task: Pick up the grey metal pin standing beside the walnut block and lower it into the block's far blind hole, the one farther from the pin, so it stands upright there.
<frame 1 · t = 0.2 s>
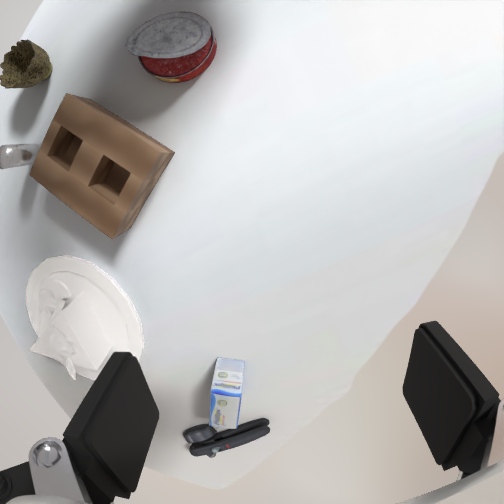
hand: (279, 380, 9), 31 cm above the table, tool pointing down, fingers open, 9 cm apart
canned food: (180, 50, 32), on the table
dish: (81, 321, 45), on the table
can opener: (228, 427, 52), on the table
medicine box: (229, 374, 47), on the table
cup: (46, 71, 32), on the table
hole block: (107, 160, 37), on the table
pin: (41, 153, 36), on the table
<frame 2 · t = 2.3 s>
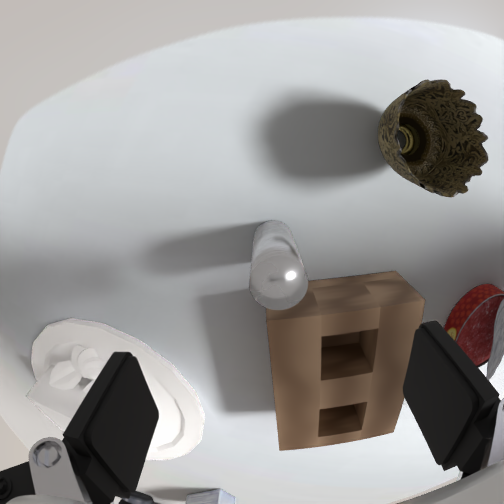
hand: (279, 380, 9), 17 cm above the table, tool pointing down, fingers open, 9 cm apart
canned food: (473, 320, 27), on the table
dish: (112, 398, 33), on the table
can opener: (162, 502, 43), on the table
medicine box: (211, 494, 40), on the table
cup: (396, 140, 22), on the table
hole block: (332, 351, 28), on the table
pin: (273, 239, 25), on the table
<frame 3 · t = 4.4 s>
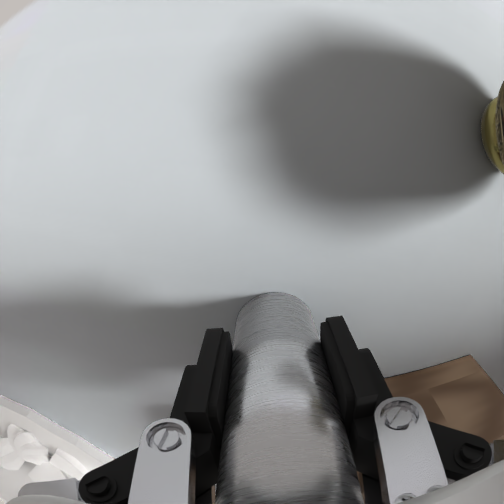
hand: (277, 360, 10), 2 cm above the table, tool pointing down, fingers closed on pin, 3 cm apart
dish: (69, 476, 20), on the table
cup: (497, 136, 9), on the table
hole block: (359, 460, 16), on the table
pin: (274, 327, 12), on the table, touching gripper
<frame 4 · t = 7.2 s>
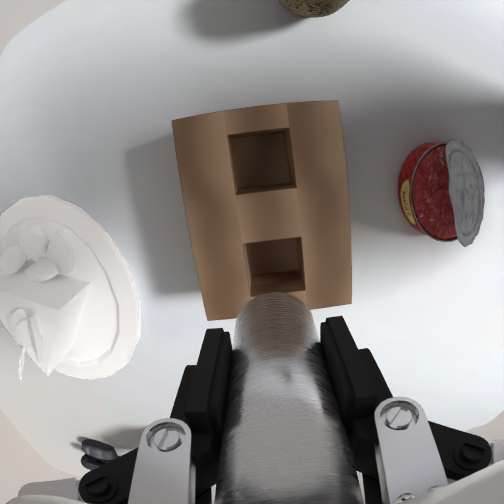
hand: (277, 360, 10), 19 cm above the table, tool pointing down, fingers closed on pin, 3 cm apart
canned food: (435, 188, 27), on the table
dish: (55, 293, 32), on the table
can opener: (129, 457, 42), on the table
cup: (303, 6, 21), on the table
hole block: (266, 203, 27), on the table
pin: (274, 326, 12), point 17 cm above the table, touching gripper
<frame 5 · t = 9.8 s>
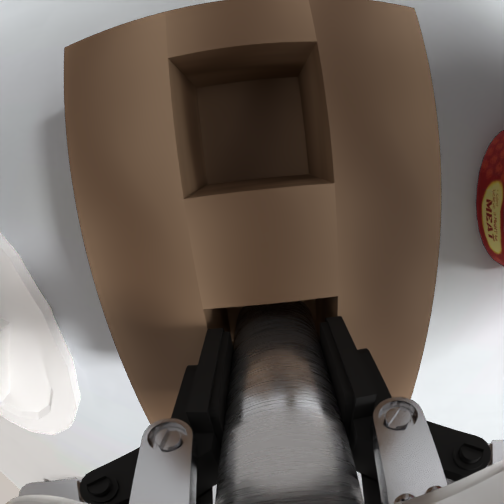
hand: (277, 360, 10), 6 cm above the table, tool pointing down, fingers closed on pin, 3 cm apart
hole block: (262, 212, 15), on the table
pin: (274, 327, 12), point 4 cm above the table, touching gripper
when the fingers open (6 cm above the table, at t = 10.0 s): pin drops 2 cm, resting on hole block.
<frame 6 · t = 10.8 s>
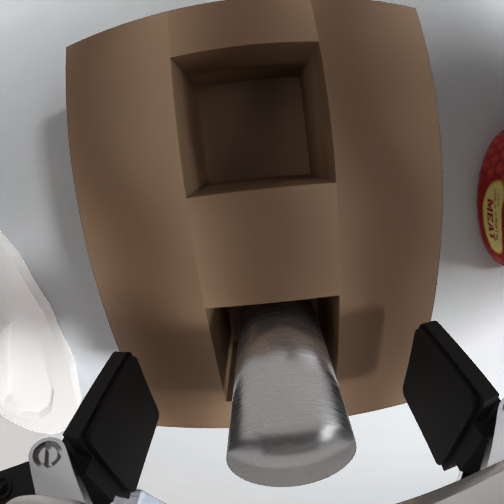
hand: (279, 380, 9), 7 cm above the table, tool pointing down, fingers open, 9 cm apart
medicine box: (136, 497, 26), on the table
hole block: (263, 212, 15), on the table
pin: (275, 299, 15), point 1 cm above the table, touching hole block
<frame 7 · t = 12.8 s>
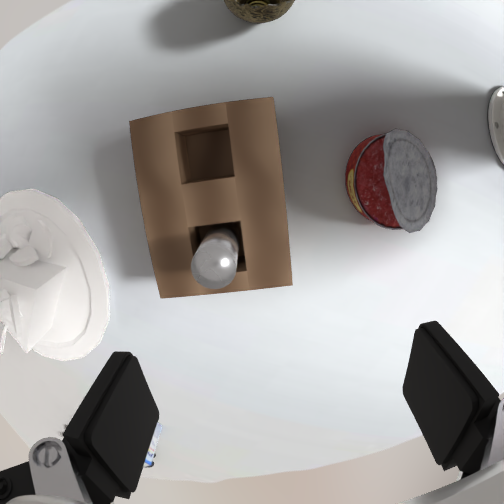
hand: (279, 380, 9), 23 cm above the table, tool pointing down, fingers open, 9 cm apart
canned food: (385, 178, 30), on the table
dish: (37, 279, 33), on the table
medicine box: (138, 422, 41), on the table
cup: (257, 12, 24), on the table
hole block: (218, 194, 30), on the table
pin: (223, 236, 30), point 1 cm above the table, touching hole block
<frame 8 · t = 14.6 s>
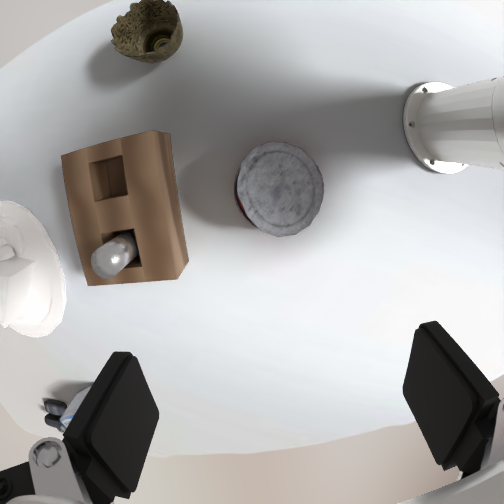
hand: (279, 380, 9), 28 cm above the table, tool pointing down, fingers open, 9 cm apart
canned food: (277, 186, 35), on the table
dish: (15, 270, 40), on the table
can opener: (80, 413, 50), on the table
medicine box: (94, 394, 47), on the table
cup: (164, 48, 30), on the table
hole block: (134, 205, 36), on the table
pin: (136, 238, 36), point 1 cm above the table, touching hole block
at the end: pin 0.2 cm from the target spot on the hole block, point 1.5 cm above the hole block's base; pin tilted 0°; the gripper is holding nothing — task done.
